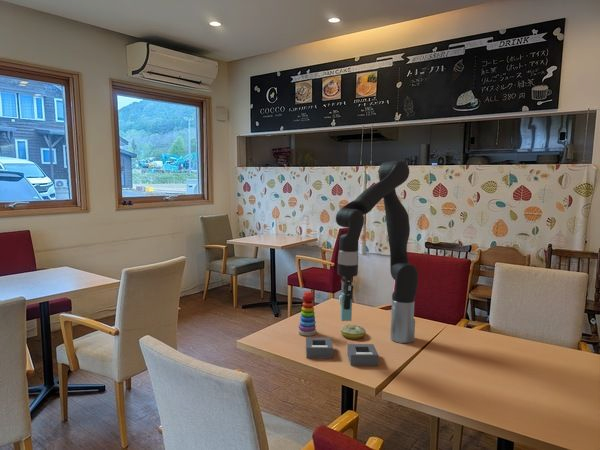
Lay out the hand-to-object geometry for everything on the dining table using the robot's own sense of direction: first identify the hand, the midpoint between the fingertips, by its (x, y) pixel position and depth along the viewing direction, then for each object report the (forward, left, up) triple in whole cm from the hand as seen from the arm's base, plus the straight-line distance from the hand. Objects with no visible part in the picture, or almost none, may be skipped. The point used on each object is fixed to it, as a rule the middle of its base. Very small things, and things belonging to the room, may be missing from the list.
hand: (346, 307), depth 153 cm
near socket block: (-6, +2, -20) cm, 21 cm away
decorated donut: (-6, -22, -20) cm, 31 cm away
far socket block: (+10, -4, -20) cm, 22 cm away
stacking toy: (+14, -24, -20) cm, 34 cm away
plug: (0, 0, -5) cm, 5 cm away
